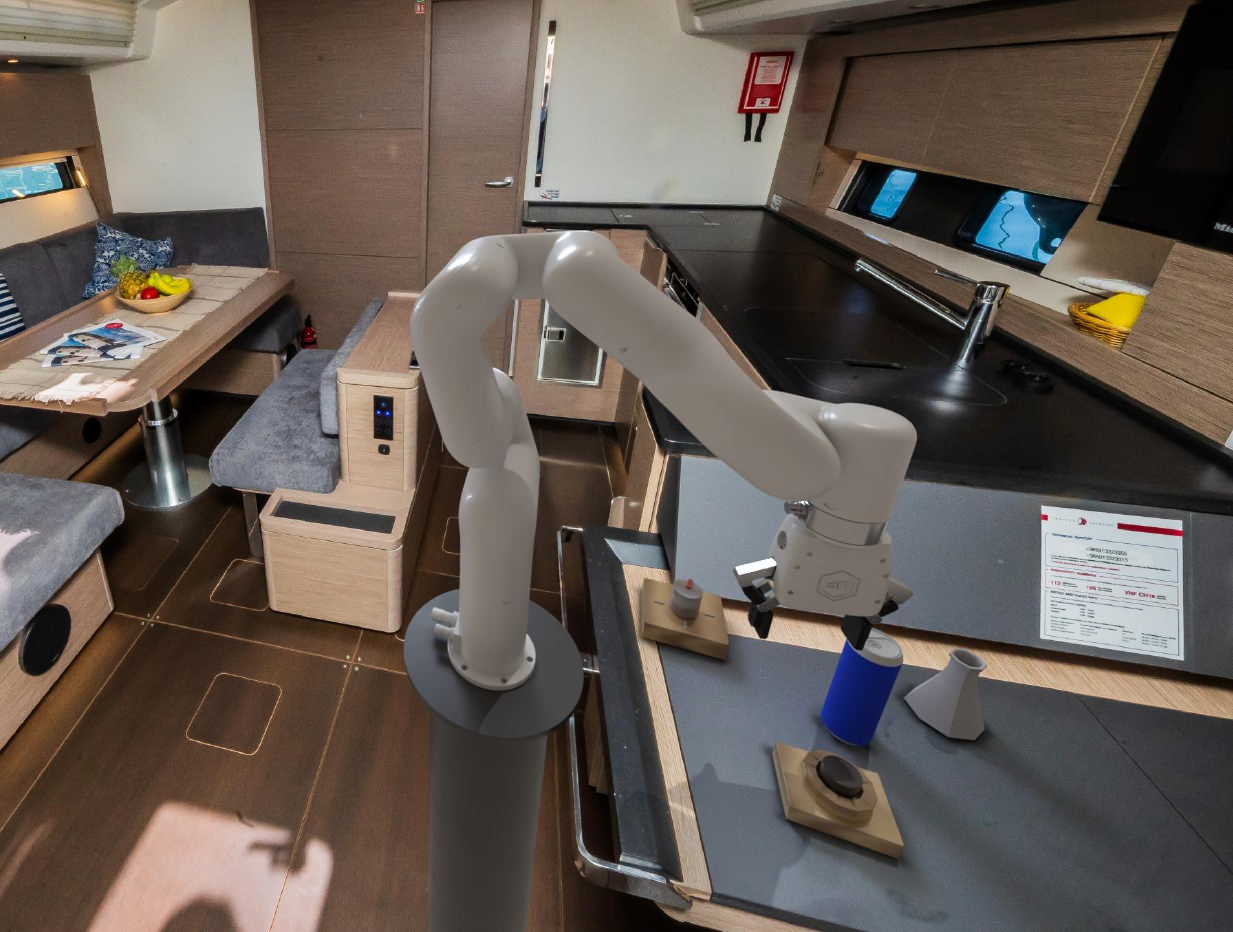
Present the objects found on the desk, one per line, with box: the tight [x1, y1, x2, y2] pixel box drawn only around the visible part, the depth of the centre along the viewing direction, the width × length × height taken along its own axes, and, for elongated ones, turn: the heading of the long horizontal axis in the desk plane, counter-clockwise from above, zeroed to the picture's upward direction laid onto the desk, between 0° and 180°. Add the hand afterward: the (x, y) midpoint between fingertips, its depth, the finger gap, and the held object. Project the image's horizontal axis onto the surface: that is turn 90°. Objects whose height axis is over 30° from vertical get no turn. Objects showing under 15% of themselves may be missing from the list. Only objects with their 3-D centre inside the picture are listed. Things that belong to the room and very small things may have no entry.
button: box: [819, 755, 863, 798], centre depth 66 cm, size 4×4×2 cm
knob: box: [669, 578, 704, 619], centre depth 90 cm, size 4×4×4 cm
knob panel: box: [641, 577, 730, 661], centre depth 91 cm, size 11×10×3 cm
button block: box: [771, 741, 905, 860], centre depth 67 cm, size 10×8×4 cm
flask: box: [903, 647, 988, 741], centre depth 75 cm, size 7×7×10 cm
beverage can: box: [820, 627, 904, 747], centre depth 73 cm, size 5×5×15 cm
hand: (803, 635), depth 69 cm, fingers open, 9 cm apart
